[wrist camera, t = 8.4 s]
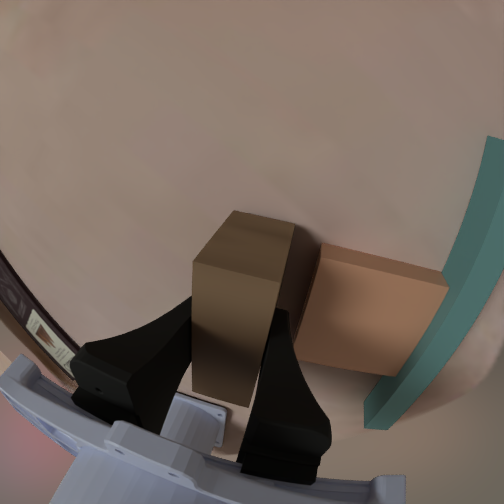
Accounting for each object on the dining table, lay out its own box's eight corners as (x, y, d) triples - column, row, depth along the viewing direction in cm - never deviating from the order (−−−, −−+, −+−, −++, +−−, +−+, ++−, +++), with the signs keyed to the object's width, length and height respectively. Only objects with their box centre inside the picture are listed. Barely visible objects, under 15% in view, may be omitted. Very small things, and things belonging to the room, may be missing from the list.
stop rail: (385, 404, 19) (387, 430, 17) (363, 401, 20) (363, 428, 17) (514, 150, 9) (541, 160, 7) (487, 135, 10) (514, 143, 8)
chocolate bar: (-11, 240, 22) (94, 367, 26) (-5, 237, 22) (98, 361, 26) (-15, 278, 26) (73, 380, 30) (-10, 274, 27) (76, 376, 31)
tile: (392, 354, 17) (395, 376, 16) (293, 335, 18) (289, 358, 17) (438, 267, 14) (449, 287, 12) (321, 238, 15) (321, 257, 13)
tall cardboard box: (267, 341, 18) (248, 407, 13) (220, 329, 18) (192, 391, 14) (295, 223, 14) (280, 282, 9) (233, 210, 14) (192, 261, 10)
